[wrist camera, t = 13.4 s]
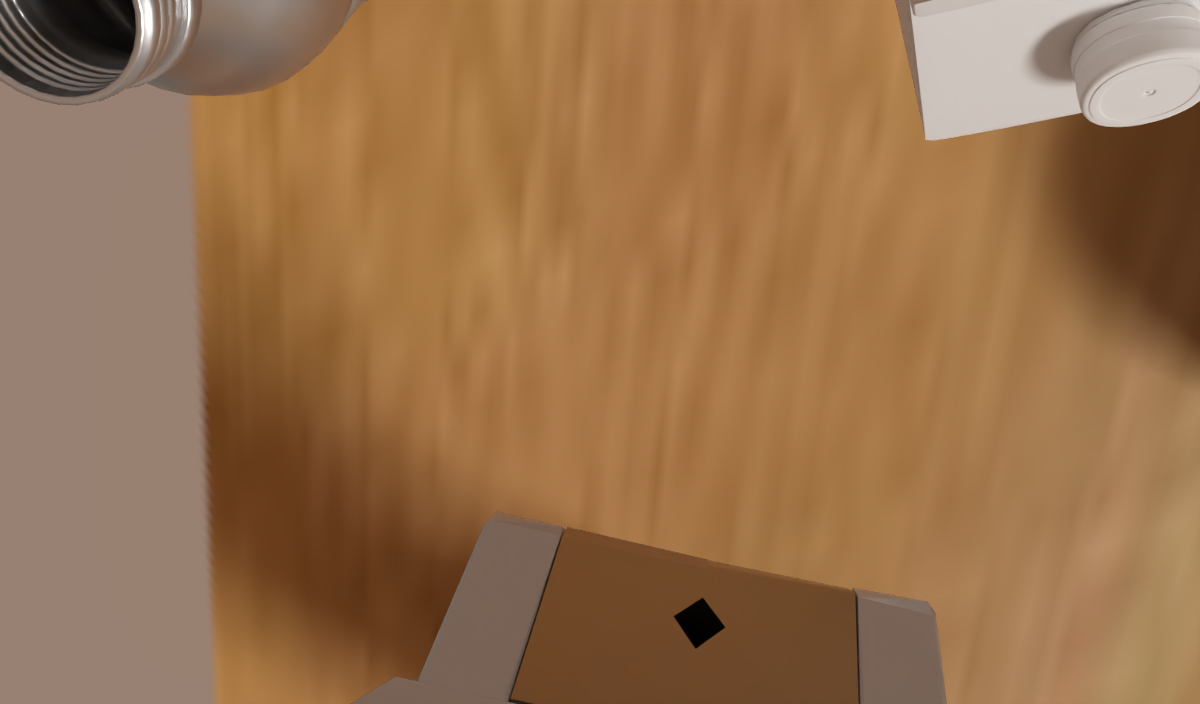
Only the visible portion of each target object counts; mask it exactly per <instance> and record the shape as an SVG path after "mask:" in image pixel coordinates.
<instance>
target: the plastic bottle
mask: <svg viewBox="0 0 1200 704" xmlns="http://www.w3.org/2000/svg"><path fill="white" fill-rule="evenodd" d="M366 1H367V0H0V81H2V82H4V83H5V84H7V85H9V86H10V87H12V88H13V89H15V90H17V91H18V92H21V93H23V94H25V95H28V96H30V97H32V98H35V99H37V100H41V101H45V102H50V103H54V104H58V105H59V104H60V105H81V104H86V103H92V102H96V101H102V100H104V99H106V98H109V97H111V96H113V95H115V94H118V93H119V92H121V91H123V90H125V89H127V88H132V87H138V86H141V85H143V84H145V83H148V84H150V85H152V86H155V87H157V88H160V89H163V90H167V91H172V92H176V93H181V94H185V95H203V96H226V95H240V94H246V93H252V92H257V91H263V90H265V89H268V88H270V87H272V86H275V85H277V84H279V83H282V82H284V81H286V80H288V79H289V78H291V77H292V76H293V75H295V74H296V73H297V72H299V71H300V70H301V69H303V68H304V67H305V66H307V65H308V64H309V63H310V62H311V61H312V60H313V59H314V58H316V57H317V56H318V55H319V54H320V53H322V52H323V50H324V49H325V48H326V47H327V46H328V44H329V43H330V42H331V41H332V40H333V38H334V37H335V36H336V35H337V34H338V32H339V30H340V29H341V28H342V27H343V26H344V24H345V23H346V22H347V21H348V19H349V18H350V17H351V16H352V14H353V13H354V12H355V11H356V9H357V8H358V7H360V6H361V5H362V4H363V3H365V2H366Z"/></svg>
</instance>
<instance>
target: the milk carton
mask: <svg viewBox="0 0 1200 704" xmlns="http://www.w3.org/2000/svg"><path fill="white" fill-rule="evenodd" d="M895 2H896V7H897V11H898V16H899V20H900V25H901V29H902V34H903V39H904V43H905V48H906V52H907V57H908V61H909V66H910V70H911V75H912V79H913V84H914V88H915V93H916V97H917V102H918V106H919V111H920V115H921V120H922V124H923V129H924V133H925V138H926V140H939V139H946V138H952V137H958V136H964V135H969V134H975V133H980V132H986V131H991V130H996V129H1002V128H1007V127H1012V126H1017V125H1022V124H1027V123H1032V122H1037V121H1042V120H1047V119H1053V118H1058V117H1063V116H1068V115H1073V114H1078V113H1083V115H1084V116H1085V117H1086V118H1087V119H1088V120H1089V121H1091V122H1093V123H1095V124H1097V125H1101V126H1106V127H1127V126H1135V125H1142V124H1146V123H1151V122H1155V121H1158V120H1162V119H1165V118H1168V117H1171V116H1173V115H1176V114H1178V113H1181V112H1182V111H1184V110H1186V109H1188V108H1190V107H1192V106H1193V105H1195V104H1196V103H1198V102H1199V101H1200V0H895Z"/></svg>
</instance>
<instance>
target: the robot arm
mask: <svg viewBox="0 0 1200 704" xmlns="http://www.w3.org/2000/svg"><path fill="white" fill-rule="evenodd" d="M351 704H947V701H946V693H945V685H944V677H943V669H942V661H941V653H940V645H939V637H938V629H937V621H936V613H935V612H934V610H933V609H932V607H931V606H930V604H929V603H928V602H927V601H921V600H916V599H910V598H905V597H900V596H894V595H889V594H884V593H878V592H873V591H868V590H862V589H857V588H853V589H852V591H851V590H849V589H847V588H842V587H837V586H832V585H827V584H823V583H818V582H813V581H808V580H803V579H798V578H793V577H788V576H783V575H778V574H773V573H768V572H764V571H759V570H754V569H749V568H744V567H739V566H734V565H729V564H724V563H719V562H714V561H710V560H707V559H703V558H698V557H694V556H690V555H686V554H681V553H677V552H673V551H668V550H664V549H660V548H655V547H651V546H647V545H643V544H638V543H634V542H630V541H625V540H621V539H617V538H613V537H608V536H604V535H600V534H595V533H591V532H587V531H582V530H578V529H574V528H570V527H567V529H566V530H565V529H564V528H562V527H561V526H557V525H552V524H548V523H543V522H539V521H535V520H530V519H526V518H521V517H517V516H512V515H508V514H504V513H499V512H495V513H494V514H493V515H492V516H491V517H490V518H489V519H488V520H487V522H486V523H485V524H484V526H483V528H482V531H481V533H480V535H479V538H478V540H477V542H476V545H475V547H474V549H473V552H472V554H471V556H470V559H469V561H468V563H467V566H466V568H465V570H464V573H463V575H462V578H461V580H460V582H459V585H458V587H457V589H456V592H455V594H454V596H453V599H452V601H451V603H450V606H449V608H448V610H447V613H446V615H445V617H444V620H443V622H442V625H441V627H440V629H439V632H438V634H437V636H436V639H435V641H434V643H433V646H432V648H431V650H430V653H429V655H428V657H427V660H426V662H425V664H424V667H423V669H422V672H421V674H420V676H419V679H418V681H414V680H409V679H404V678H399V677H393V678H392V679H390V680H388V681H387V682H385V683H383V684H382V685H380V686H379V687H377V688H375V689H374V690H372V691H371V692H369V693H367V694H366V695H364V696H362V697H361V698H359V699H358V700H356V701H354V702H353V703H351Z"/></svg>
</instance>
